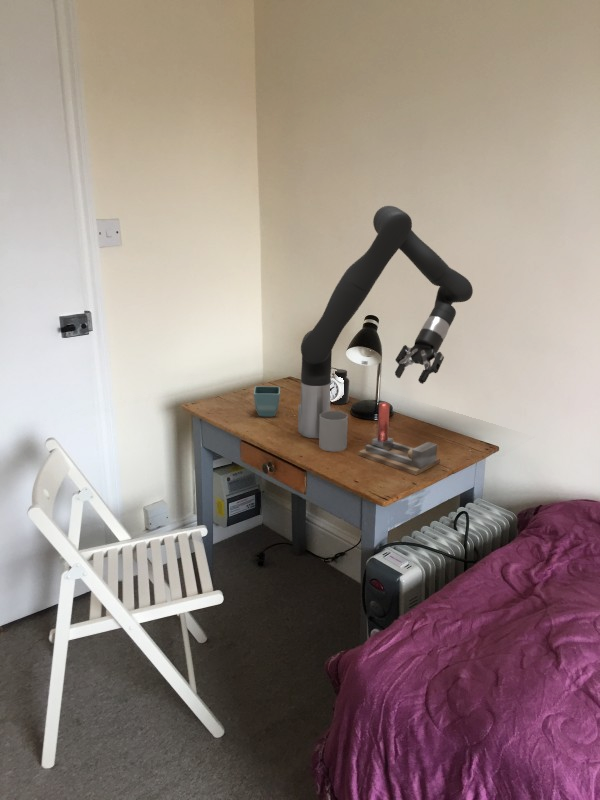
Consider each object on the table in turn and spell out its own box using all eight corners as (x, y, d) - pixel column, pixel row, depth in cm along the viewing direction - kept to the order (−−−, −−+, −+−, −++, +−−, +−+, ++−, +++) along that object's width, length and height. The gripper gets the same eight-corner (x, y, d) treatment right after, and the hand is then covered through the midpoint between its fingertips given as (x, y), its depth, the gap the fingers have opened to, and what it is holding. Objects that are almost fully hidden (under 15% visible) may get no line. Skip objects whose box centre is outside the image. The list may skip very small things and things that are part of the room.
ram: (371, 449, 192) (373, 404, 188) (381, 444, 196) (384, 400, 191) (382, 452, 190) (384, 407, 185) (392, 448, 193) (395, 403, 189)
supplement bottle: (336, 406, 234) (337, 374, 230) (326, 401, 240) (326, 369, 236) (352, 403, 238) (353, 371, 234) (341, 398, 243) (342, 367, 239)
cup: (330, 439, 204) (331, 409, 201) (351, 445, 199) (353, 414, 196) (313, 446, 198) (314, 415, 194) (335, 453, 193) (336, 422, 190)
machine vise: (358, 455, 192) (359, 435, 190) (383, 444, 200) (384, 425, 198) (415, 475, 179) (417, 454, 177) (439, 462, 187) (441, 442, 185)
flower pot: (279, 410, 229) (279, 386, 227) (279, 418, 221) (279, 393, 218) (255, 410, 229) (254, 386, 226) (254, 418, 221) (253, 393, 218)
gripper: (408, 324, 200) (384, 368, 196) (447, 331, 190) (423, 377, 187) (418, 338, 205) (395, 381, 201) (457, 345, 195) (433, 390, 192)
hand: (408, 379), depth 194 cm, fingers open, 8 cm apart
